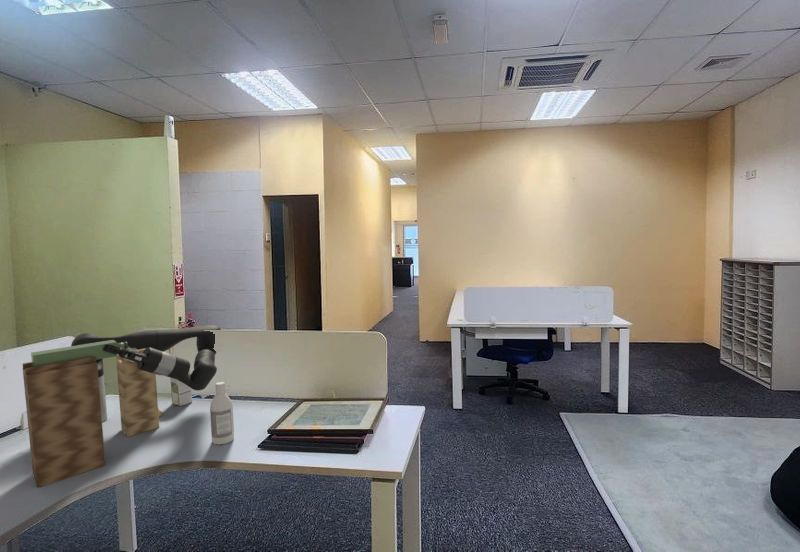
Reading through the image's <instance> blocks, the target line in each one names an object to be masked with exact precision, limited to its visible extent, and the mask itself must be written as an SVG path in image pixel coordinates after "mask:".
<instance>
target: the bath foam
mask: <svg viewBox="0 0 800 552" xmlns="http://www.w3.org/2000/svg"><path fill="white" fill-rule="evenodd" d="M214 386H215V394H214V397H213V398H212V400H211V402H210V408H209V411H210V412H209V413H210V414H209V415H210V429H211V430H210V432H211V433H210V434H211V442H212V444H214V445H216V444H217V445H218V446H219V445H221V444H222V445H226V444H229V443H231V442H232V441H233V440H234V439H235V433H234V432H235V427H234V410H233V409H234V408H233V403H232V402H233V401H232V399H231V398H230V397H229V395H228V394H227V393H226V383H225V381H218V382H216V383H215V384H214Z"/></svg>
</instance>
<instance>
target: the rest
mask: <svg viewBox="0 0 800 552" xmlns="http://www.w3.org/2000/svg"><path fill="white" fill-rule="evenodd" d="M145 349H146V348H145ZM145 349H140V351H141V352H140V353H142V352H143V351H144V350H145ZM115 358H116V361H115V362H116V371H117V373H116V374H117V388H118V397H119V398H118V400H119V411H120V414H119V415H120V426H121V431H122V432H123V434H125V435H126V436H127V437H130V436H131V437H132V436H135V435H139V434H142V433H145V432H148V431H152V430H155V429H159V428H160V419H159V418H160V417H159V416H158V409H159V403H158V402H159V401H158V388H157V387H158V386H157V374H153V373H150V372H146V371H143V370H139V369H138V368H137V362H135V363H134V362H131V361H129V360H126V359H123V358H121V357H119V356H115Z"/></svg>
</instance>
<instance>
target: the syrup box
mask: <svg viewBox="0 0 800 552" xmlns="http://www.w3.org/2000/svg"><path fill="white" fill-rule="evenodd" d="M188 374H191V369H190V370H189V372H188ZM169 378H170V377H169ZM170 391H171V403H172V404H173V405H175V406H179V407H181V406H186V405H188V404H190V403H193V397H192V396H193V395H192V389H191V388H190V387H188V386H187V385H186V384H184V383H182V382H180V381H179V380H177V379H174V378H170Z"/></svg>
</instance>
